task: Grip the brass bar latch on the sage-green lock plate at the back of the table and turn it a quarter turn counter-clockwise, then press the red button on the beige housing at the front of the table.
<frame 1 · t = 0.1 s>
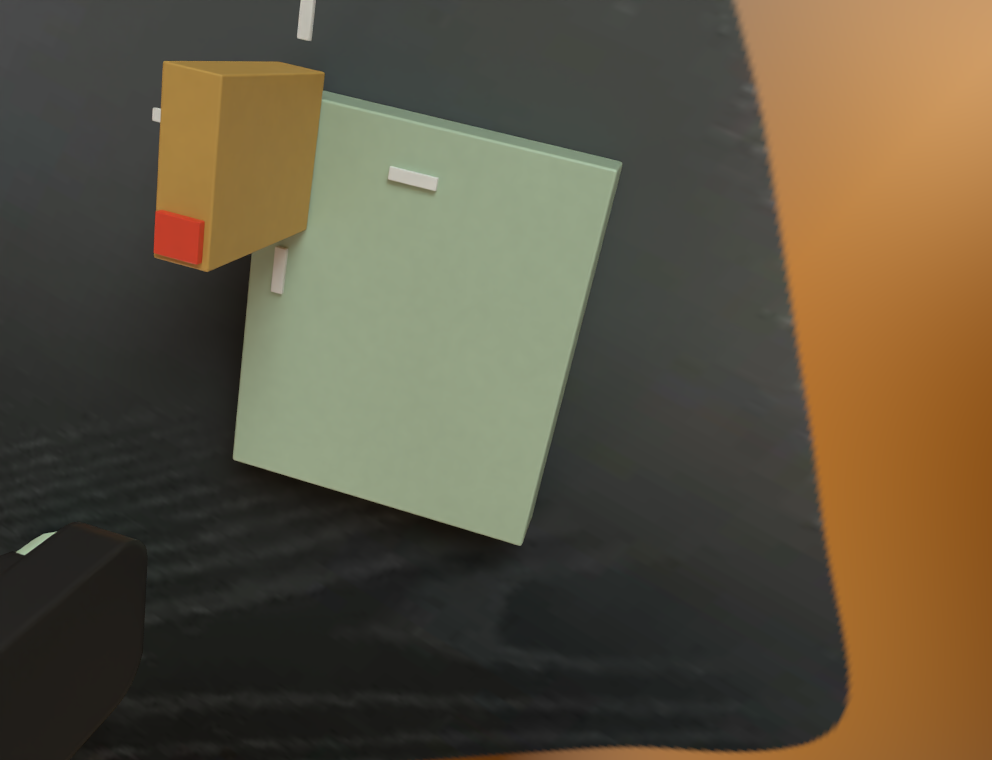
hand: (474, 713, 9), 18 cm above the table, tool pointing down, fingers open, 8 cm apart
lock plate: (421, 313, 27), on the table
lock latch: (243, 158, 21), point 5 cm above the table, hinge at 0.0°
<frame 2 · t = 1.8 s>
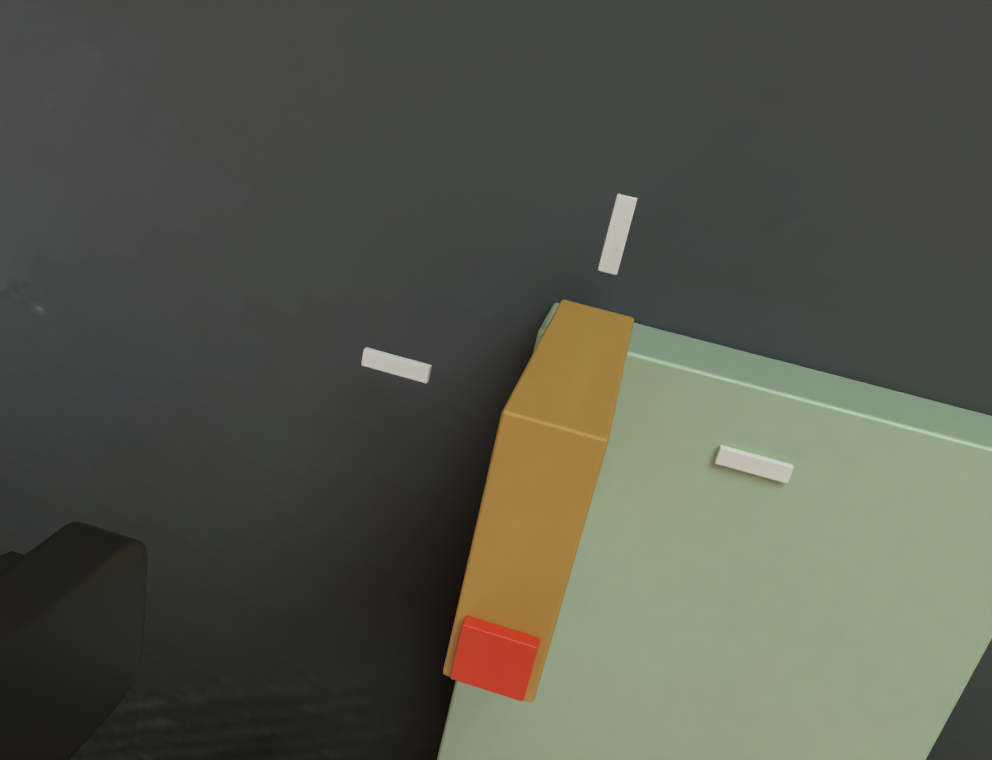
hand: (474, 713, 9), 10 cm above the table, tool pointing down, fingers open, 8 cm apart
lock plate: (703, 596, 20), on the table
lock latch: (547, 479, 14), point 5 cm above the table, hinge at 0.0°
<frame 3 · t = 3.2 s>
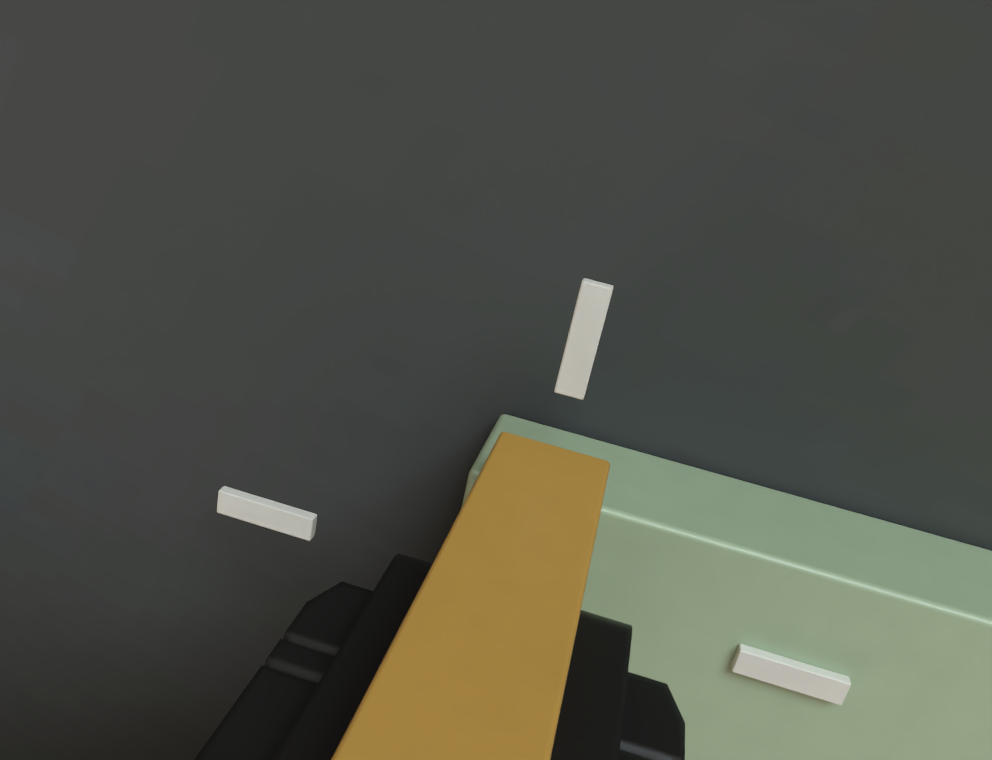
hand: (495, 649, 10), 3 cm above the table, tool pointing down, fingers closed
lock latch: (465, 750, 9), point 5 cm above the table, hinge at 0.0°, touching gripper
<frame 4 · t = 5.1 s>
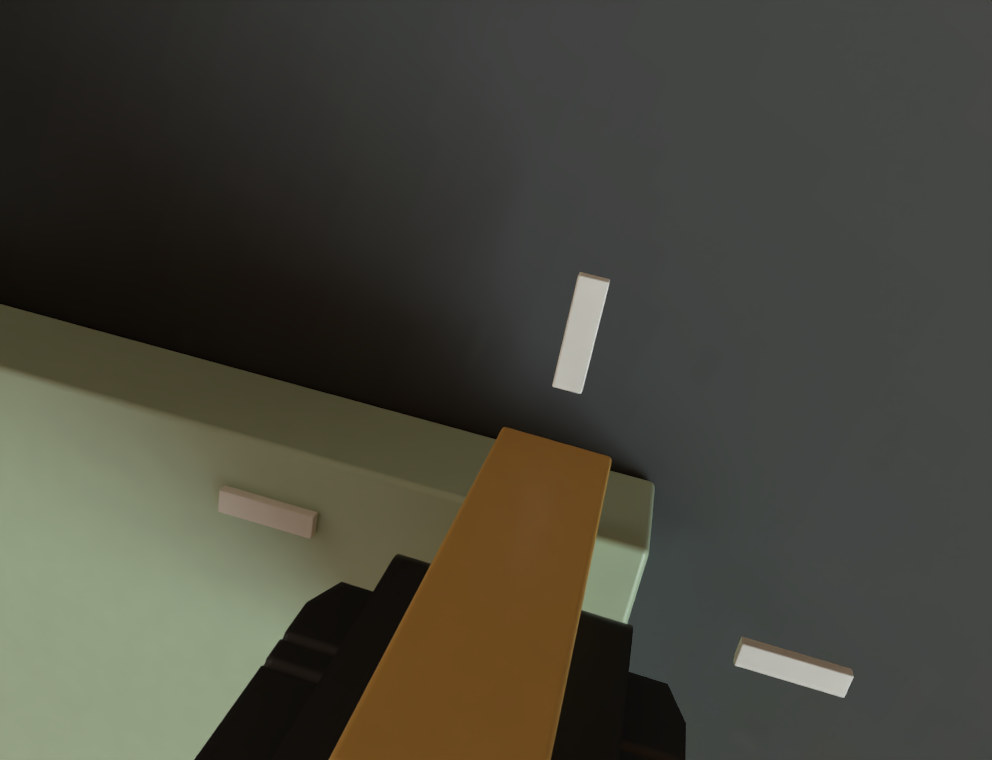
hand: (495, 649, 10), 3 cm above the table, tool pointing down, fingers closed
lock plate: (255, 630, 15), on the table
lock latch: (466, 744, 9), point 5 cm above the table, hinge at 89.2°, touching gripper
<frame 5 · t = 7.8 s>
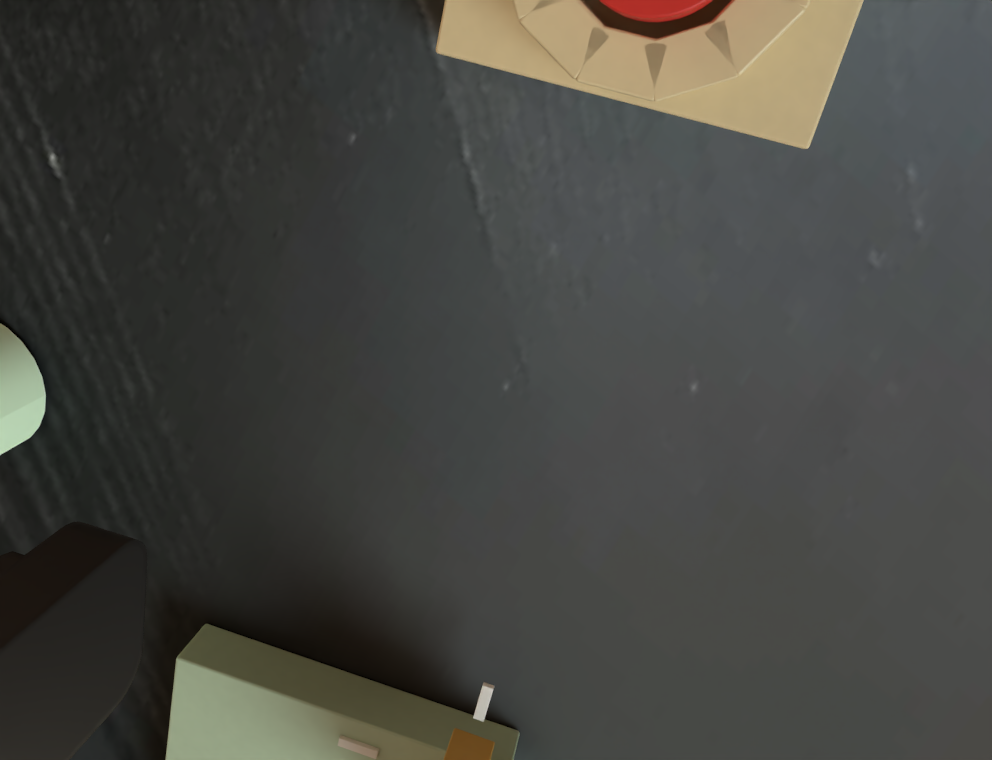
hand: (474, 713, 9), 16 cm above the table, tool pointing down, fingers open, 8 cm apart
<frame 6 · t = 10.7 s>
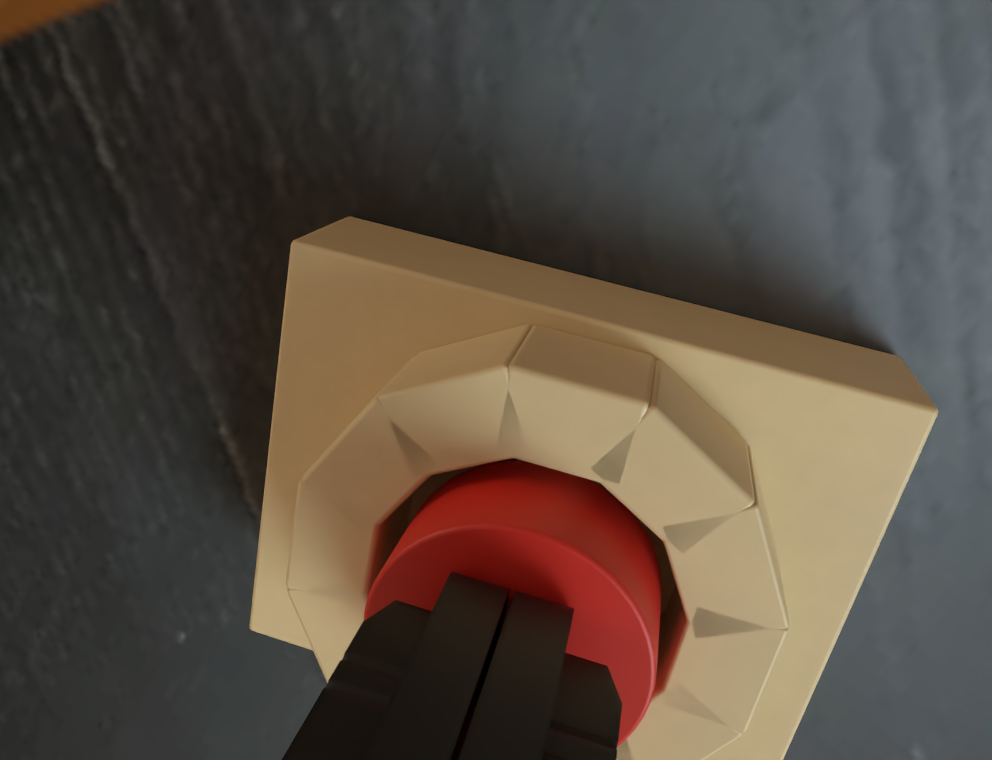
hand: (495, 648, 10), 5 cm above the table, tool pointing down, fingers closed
button box: (563, 472, 15), on the table
button: (517, 614, 11), point 4 cm above the table, slide at -0.2 cm, touching gripper
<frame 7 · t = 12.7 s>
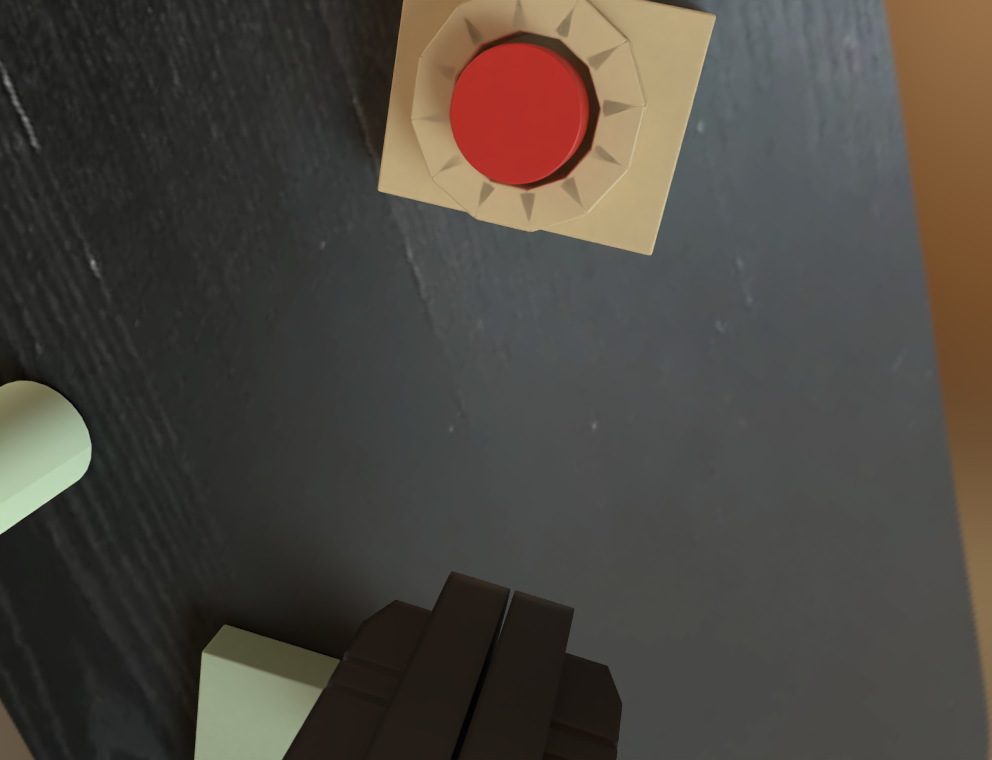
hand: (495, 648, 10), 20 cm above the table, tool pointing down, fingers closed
candle: (44, 432, 36), on the table
lock plate: (337, 745, 39), on the table
button box: (545, 105, 27), on the table
button: (520, 113, 23), point 4 cm above the table, slide at 0.1 cm
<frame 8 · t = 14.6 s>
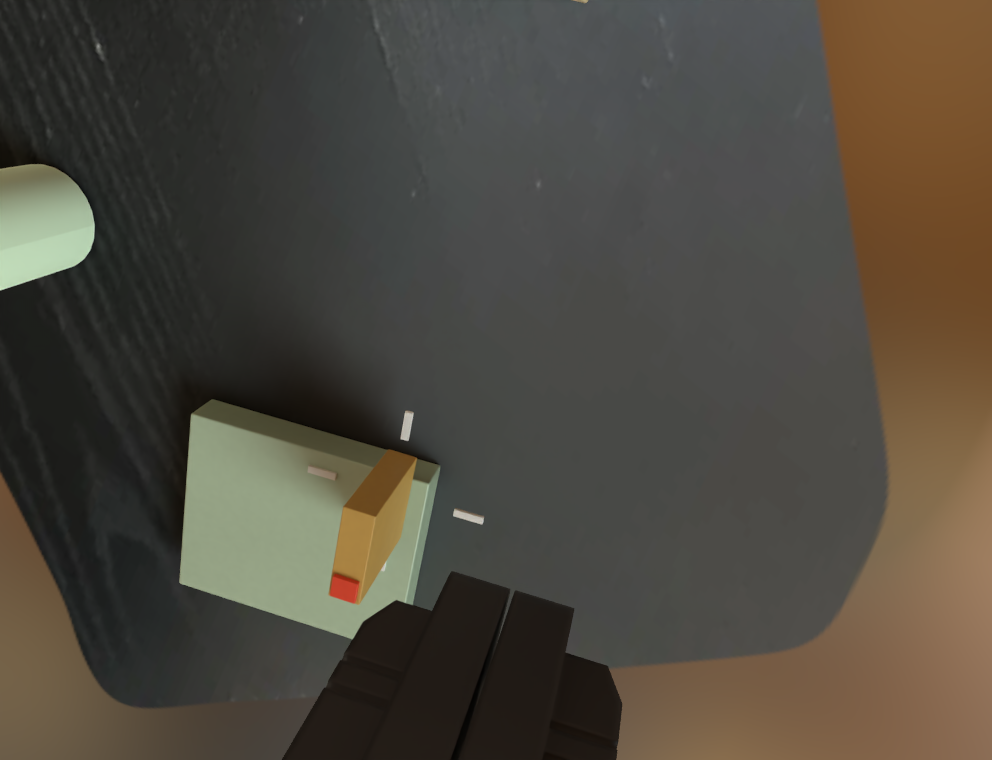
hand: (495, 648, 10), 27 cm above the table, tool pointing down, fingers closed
candle: (52, 216, 41), on the table
lock plate: (312, 517, 43), on the table
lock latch: (373, 524, 37), point 5 cm above the table, hinge at 89.3°
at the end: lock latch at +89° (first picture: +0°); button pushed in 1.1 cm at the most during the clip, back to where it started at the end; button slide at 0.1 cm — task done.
